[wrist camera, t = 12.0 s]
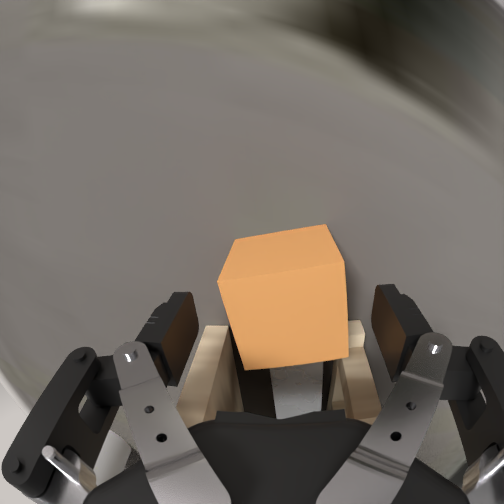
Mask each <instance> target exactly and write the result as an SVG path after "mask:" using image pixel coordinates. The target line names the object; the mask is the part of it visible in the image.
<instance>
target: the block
mask: <svg viewBox="0 0 504 504" xmlns="http://www.w3.org/2000/svg"><path fill="white" fill-rule="evenodd" d="M217 282H218V286H219V289H220V293H221V296H222V299H223V302H224V306H225V309H226V312H227V316H228V319H229V322H230V325H231V328H232V331H233V335H234V338H235V341H236V344H237V347H238V350H239V353H240V356H241V359H242V362H243V365H244V368H245V370H254V369H266V368H276V367H285V366H293V365H301V364H309V363H315V362H322V361H329V360H335V359H340V358H346V357H349V346H348V312H347V293H346V278H345V265H344V260H343V258H342V256H341V254H340V252H339V250H338V248H337V246H336V244H335V242H334V240H333V238H332V236H331V234H330V232H329V230H328V228H327V226H326V224H324V225H317V226H311V227H305V228H299V229H293V230H287V231H281V232H275V233H269V234H264V235H258V236H252V237H246V238H240V239H235V241H234V243H233V246H232V248H231V250H230V253H229V255H228V257H227V260H226V262H225V264H224V267H223V269H222V271H221V274H220V276H219V279H218V281H217Z"/></svg>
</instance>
